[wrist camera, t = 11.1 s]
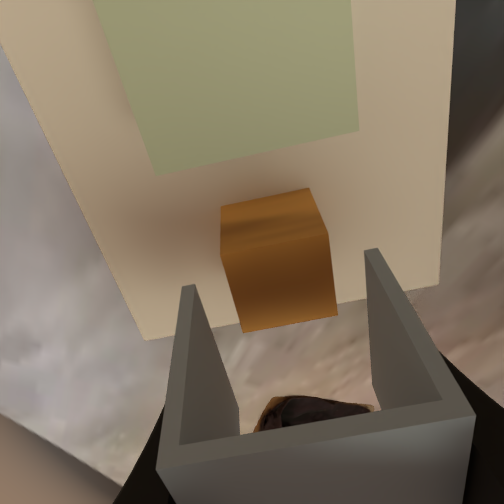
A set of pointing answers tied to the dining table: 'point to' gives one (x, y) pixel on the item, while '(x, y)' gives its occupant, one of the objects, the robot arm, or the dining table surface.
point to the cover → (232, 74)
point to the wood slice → (305, 411)
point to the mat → (245, 158)
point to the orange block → (277, 260)
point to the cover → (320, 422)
